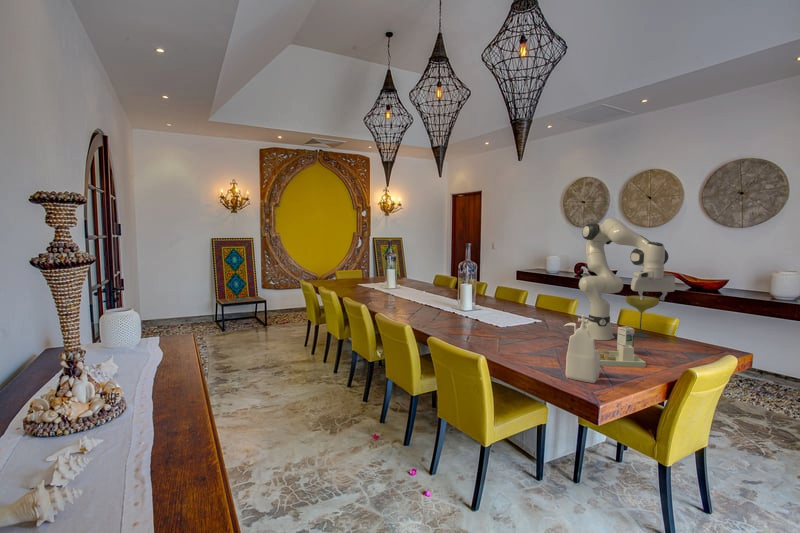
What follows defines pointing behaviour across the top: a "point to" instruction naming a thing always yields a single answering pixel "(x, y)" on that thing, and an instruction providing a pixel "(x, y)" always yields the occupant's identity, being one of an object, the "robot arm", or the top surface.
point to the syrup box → (625, 336)
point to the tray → (635, 363)
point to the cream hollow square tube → (626, 353)
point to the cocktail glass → (642, 307)
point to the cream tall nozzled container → (582, 355)
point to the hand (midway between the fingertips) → (652, 299)
